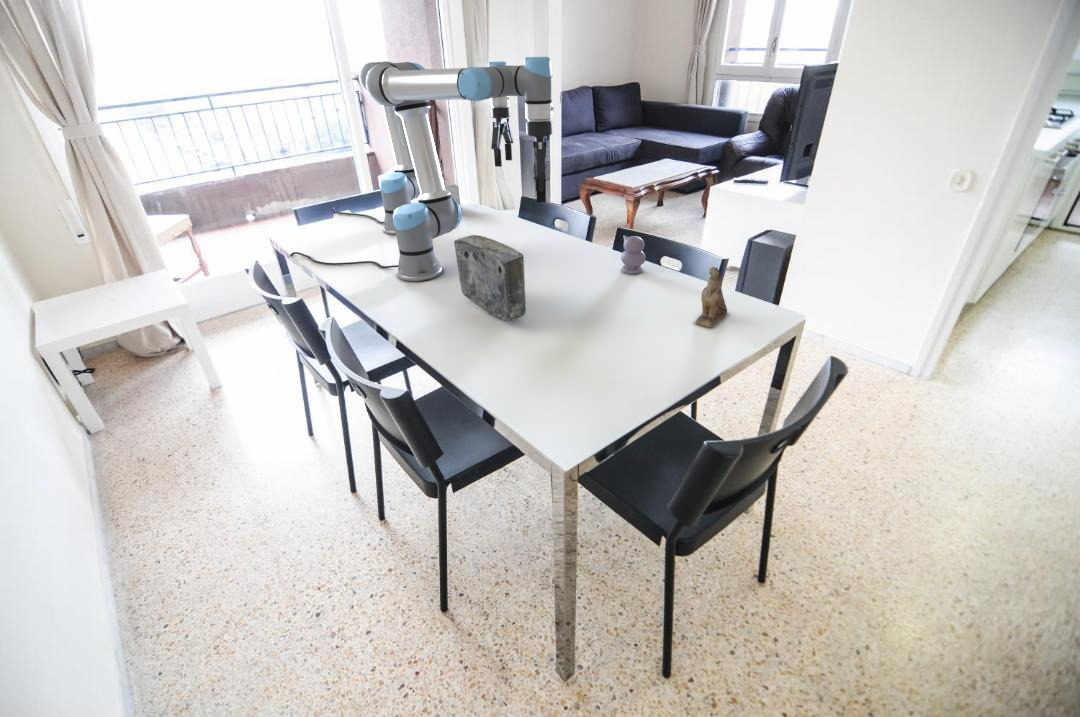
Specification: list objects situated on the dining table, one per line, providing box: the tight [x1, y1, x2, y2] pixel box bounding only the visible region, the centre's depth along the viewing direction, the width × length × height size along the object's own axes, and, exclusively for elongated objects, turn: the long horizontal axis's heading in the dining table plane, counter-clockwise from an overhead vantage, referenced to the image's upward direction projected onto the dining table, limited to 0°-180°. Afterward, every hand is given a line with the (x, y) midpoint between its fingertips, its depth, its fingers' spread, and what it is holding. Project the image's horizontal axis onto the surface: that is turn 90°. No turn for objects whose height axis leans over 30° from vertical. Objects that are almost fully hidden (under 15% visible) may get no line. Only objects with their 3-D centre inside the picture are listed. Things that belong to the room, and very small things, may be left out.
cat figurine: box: [620, 234, 646, 275], centre depth 168 cm, size 9×8×12 cm
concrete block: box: [453, 234, 527, 322], centre depth 143 cm, size 27×9×20 cm, turn 36°
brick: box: [444, 184, 462, 209], centre depth 247 cm, size 9×6×11 cm, turn 111°
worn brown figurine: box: [695, 266, 728, 328], centre depth 135 cm, size 12×6×18 cm, turn 136°
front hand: (540, 196), depth 152 cm, fingers open, 13 cm apart
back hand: (503, 163), depth 208 cm, fingers open, 13 cm apart
